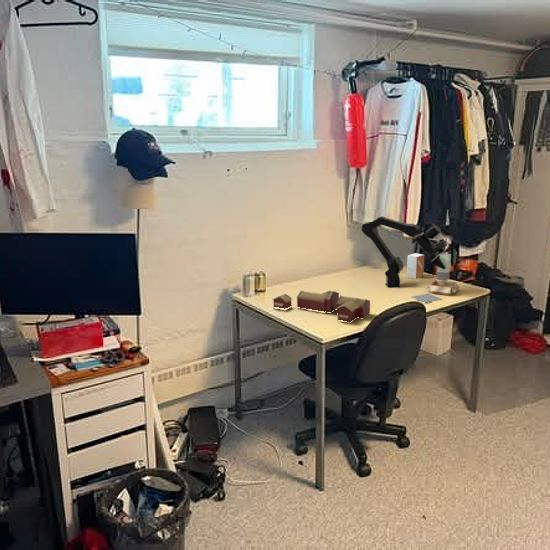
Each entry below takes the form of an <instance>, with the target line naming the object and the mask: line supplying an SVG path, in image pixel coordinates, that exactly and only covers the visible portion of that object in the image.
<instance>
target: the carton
mask: <svg viewBox="0 0 550 550" xmlns="http://www.w3.org/2000/svg"><path fill="white" fill-rule="evenodd" d="M459 289H460V285H459V284H458V282H456V281H448V280H447V281H446V280H439V279H435V280H433V281H432V282H431V283H430V284H428V285H427V287H426V288H425V290H427V291H428V294H437V295H443V296H452V295H453V294H455V293H456V292H458V290H459Z"/></svg>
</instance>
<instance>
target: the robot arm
mask: <svg viewBox="0 0 550 550" xmlns="http://www.w3.org/2000/svg"><path fill="white" fill-rule="evenodd" d="M380 226H383V227H386V228H387V227H388V228H390V229H394V230H396V231H400V232H402V233H403V234H405V235H406V236H408V237H411V238H412V240H411V243H412V245H413V244H415V243H416V244H418V246H420V248H421V249H422V250H421V251H422V252H423V253H425V254H426V256H427V257H424V263H426V264H427V265H428V264H430V265H434V266H436V267H437V268H438V267H440V268H442V269H445V266H444V264H443V263H442V262H441V260H440V255H439V254H440V253H446V252H445V251H446V250H447V249H446V247H448V244H447V243H448V242H447V241H446V240H445V239H444V238H441V239H439V240H438V241H437V242H436V243H435V241H431V240H433V239H434V238H436V237H437V236H438V235H439V234H440V233H441V232H442V229H441V228H440V226H439V225H436V224H435V223H433V222H430V223H429V224H428V225H427V226H426V227H421V226H420V225H418V224H415V223H404V222H401V221H398V220H394V219H392V218H388V217H385V216H383V215H382V216H379V217H378V218H376V219H373V220H372V221H368V222H366V223H364V224H363V225H362V226H361V233H363V234H364V235H365V236H366V237H368V238H369V239H370V240H371V241H372V242H373V243H374V245H375V247H376V248H377V249H378V251H379V252H380V255H382V257H383V258H384V260H385V261H386V266H387V268H388V269H387V270H386V271H385V272H384V276H386V277H385V281H386V282H385V283H384V285H385V286H386V287H387V288H399V287H401V286H400V284H401V282H400V281H401V277H400V275H399V274H400V272H402V271H403V269H404V262H403V261H402V259H401V257H400V256H397V257H396V256H395V255H393V253H392V251H391V250H390V249H389V247H388V246H387V245H386V243H385V242H384V240H383V239H382V237H381V236H380V233H379V230H378V227H380ZM430 239H431V240H430ZM438 255H439V256H438Z"/></svg>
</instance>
